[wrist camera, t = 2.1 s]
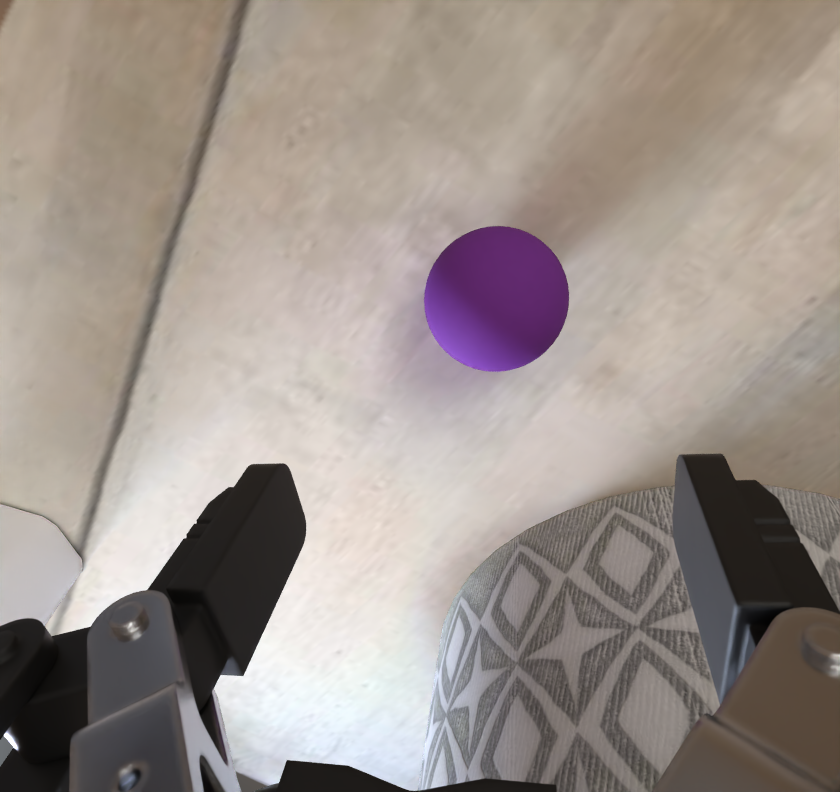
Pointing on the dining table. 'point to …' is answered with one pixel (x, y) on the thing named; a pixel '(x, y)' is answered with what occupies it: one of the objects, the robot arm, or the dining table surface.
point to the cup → (33, 566)
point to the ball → (496, 298)
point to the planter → (585, 649)
